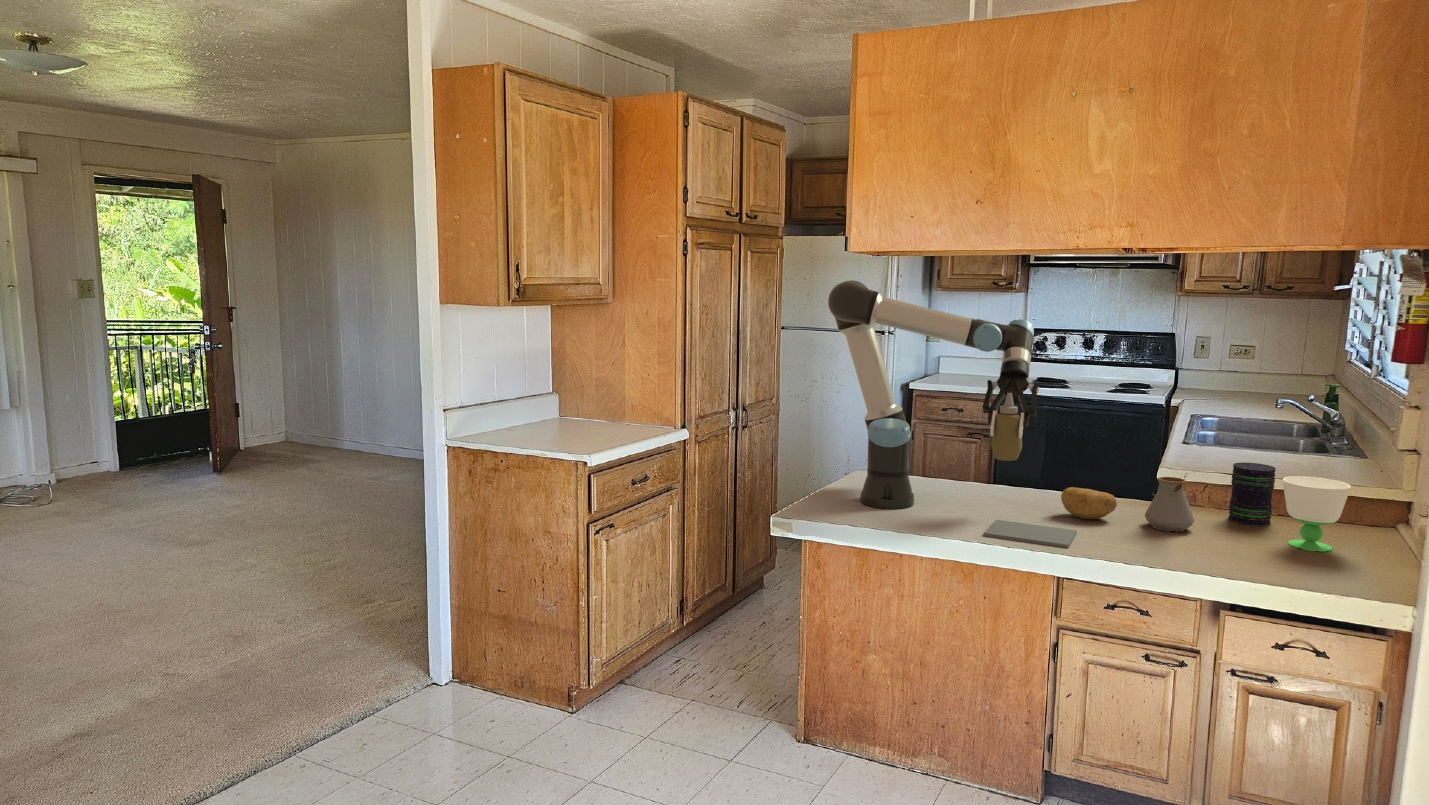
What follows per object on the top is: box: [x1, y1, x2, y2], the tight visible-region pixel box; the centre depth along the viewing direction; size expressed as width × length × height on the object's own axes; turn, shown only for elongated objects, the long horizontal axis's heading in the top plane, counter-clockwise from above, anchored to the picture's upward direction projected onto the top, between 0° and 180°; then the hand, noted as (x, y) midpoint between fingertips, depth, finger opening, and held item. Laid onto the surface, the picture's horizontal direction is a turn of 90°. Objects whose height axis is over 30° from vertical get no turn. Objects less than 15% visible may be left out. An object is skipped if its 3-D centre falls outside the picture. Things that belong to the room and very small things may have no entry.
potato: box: [1060, 486, 1118, 520], centre depth 240 cm, size 10×14×8 cm
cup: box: [1282, 475, 1352, 553], centre depth 215 cm, size 14×14×16 cm
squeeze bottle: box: [990, 393, 1023, 462], centre depth 240 cm, size 8×8×18 cm
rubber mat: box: [983, 519, 1078, 549], centre depth 225 cm, size 20×14×1 cm
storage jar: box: [1228, 462, 1277, 527], centre depth 237 cm, size 10×10×15 cm
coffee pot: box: [1144, 476, 1195, 533], centre depth 226 cm, size 21×12×15 cm, turn 159°
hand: (1006, 434), depth 237 cm, fingers closed on squeeze bottle, 6 cm apart
